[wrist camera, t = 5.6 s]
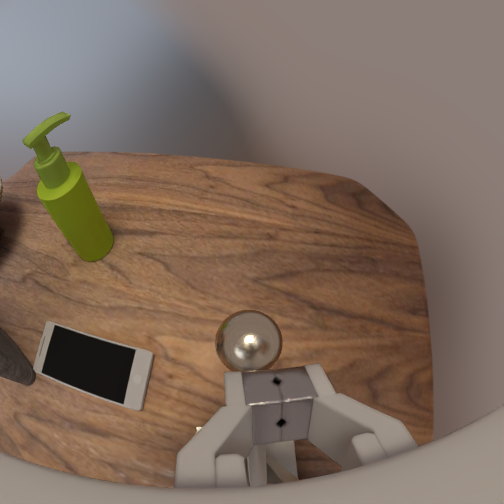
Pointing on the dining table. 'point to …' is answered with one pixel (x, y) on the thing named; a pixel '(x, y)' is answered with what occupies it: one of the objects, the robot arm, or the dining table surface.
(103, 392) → the smartphone
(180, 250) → the dining table surface
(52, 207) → the soap dispenser
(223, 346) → the lever
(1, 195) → the bowl
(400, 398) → the dining table surface
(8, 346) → the flask
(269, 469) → the metal pivot stand
